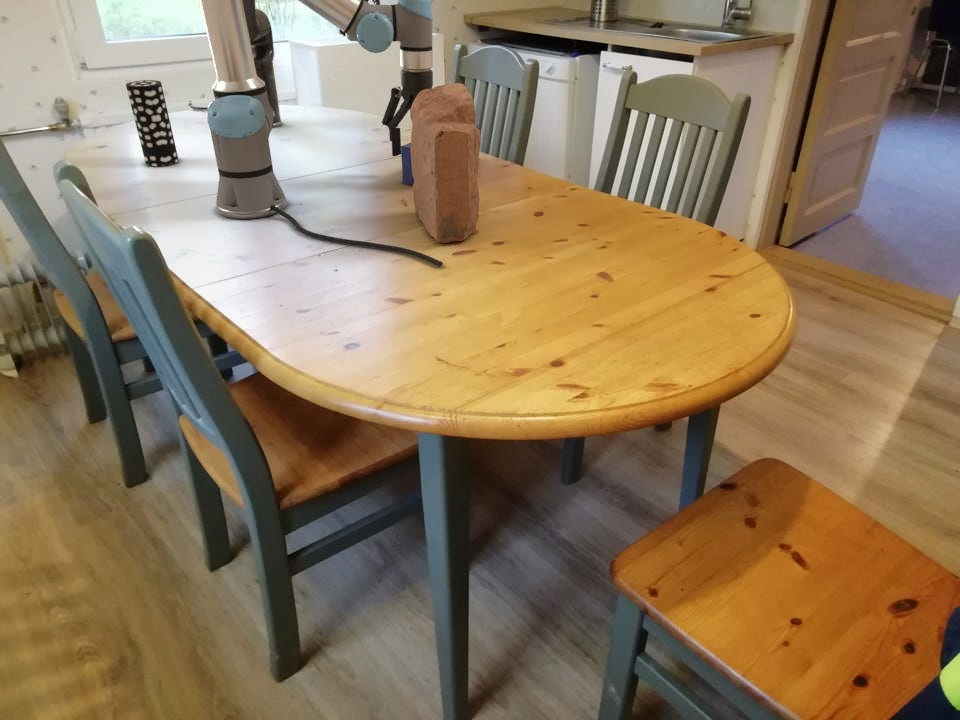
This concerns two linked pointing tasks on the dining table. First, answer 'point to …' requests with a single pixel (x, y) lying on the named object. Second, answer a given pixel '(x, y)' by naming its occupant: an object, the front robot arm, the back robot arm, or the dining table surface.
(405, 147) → the bar
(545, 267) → the dining table surface
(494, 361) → the dining table surface
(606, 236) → the dining table surface
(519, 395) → the dining table surface
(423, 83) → the front robot arm
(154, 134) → the black white spotted cylinder
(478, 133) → the stone
